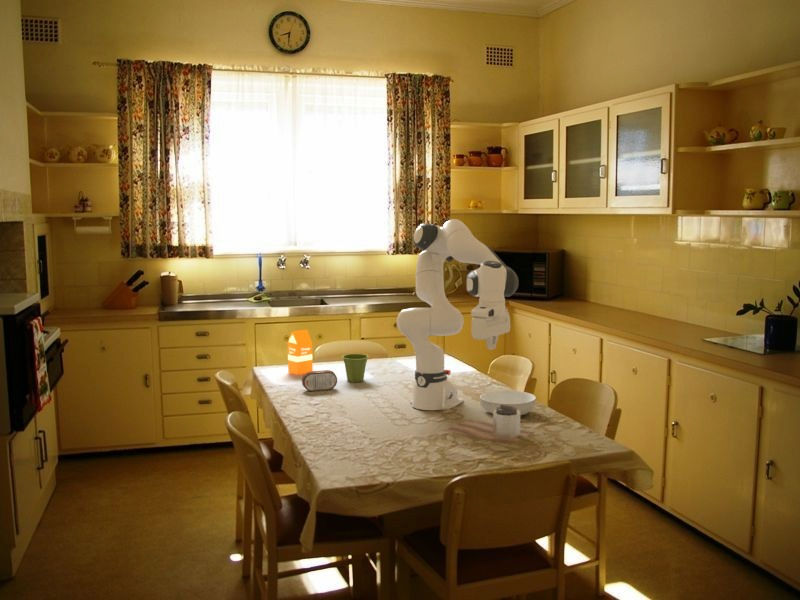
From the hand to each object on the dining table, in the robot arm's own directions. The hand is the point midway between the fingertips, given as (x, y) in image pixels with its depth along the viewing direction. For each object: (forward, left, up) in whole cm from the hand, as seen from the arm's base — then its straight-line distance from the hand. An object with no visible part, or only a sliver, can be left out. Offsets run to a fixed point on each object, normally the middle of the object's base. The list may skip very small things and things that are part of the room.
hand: (491, 348), depth 259 cm
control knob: (+5, +9, -23) cm, 25 cm away
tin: (-7, -89, -29) cm, 94 cm away
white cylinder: (+5, +9, -28) cm, 29 cm away
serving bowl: (-22, -6, -29) cm, 37 cm away
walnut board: (+5, +2, -29) cm, 30 cm away
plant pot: (-29, -88, -29) cm, 97 cm away
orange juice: (-27, -121, -29) cm, 127 cm away
